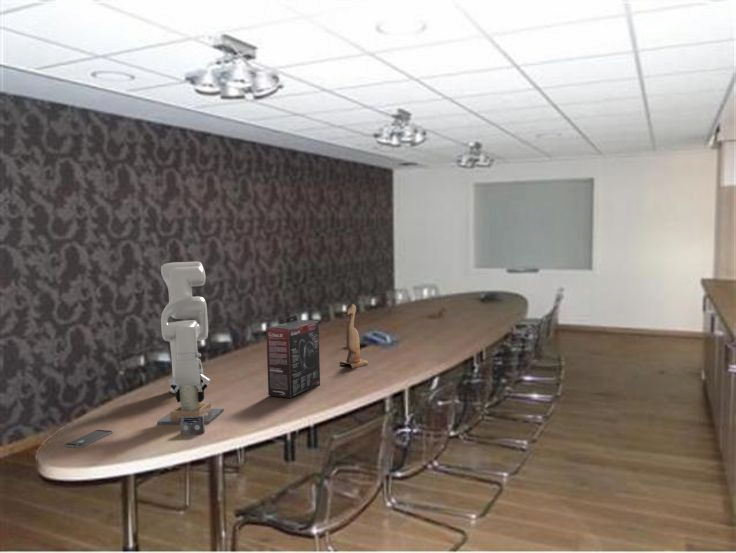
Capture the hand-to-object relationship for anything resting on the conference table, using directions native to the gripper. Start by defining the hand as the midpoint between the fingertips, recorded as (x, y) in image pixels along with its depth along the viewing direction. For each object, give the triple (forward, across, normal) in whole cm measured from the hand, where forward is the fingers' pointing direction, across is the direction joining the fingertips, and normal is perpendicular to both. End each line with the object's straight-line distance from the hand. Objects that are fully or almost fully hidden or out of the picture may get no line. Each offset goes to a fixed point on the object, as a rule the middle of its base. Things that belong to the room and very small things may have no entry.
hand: (190, 401), depth 234 cm
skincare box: (+5, 0, 0) cm, 5 cm away
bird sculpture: (+7, -51, -87) cm, 101 cm away
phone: (+7, +27, +24) cm, 37 cm away
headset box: (+7, -32, -38) cm, 50 cm away
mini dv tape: (+7, -8, +18) cm, 21 cm away
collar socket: (+6, 0, 0) cm, 6 cm away
